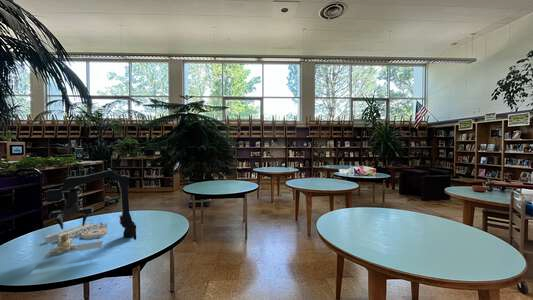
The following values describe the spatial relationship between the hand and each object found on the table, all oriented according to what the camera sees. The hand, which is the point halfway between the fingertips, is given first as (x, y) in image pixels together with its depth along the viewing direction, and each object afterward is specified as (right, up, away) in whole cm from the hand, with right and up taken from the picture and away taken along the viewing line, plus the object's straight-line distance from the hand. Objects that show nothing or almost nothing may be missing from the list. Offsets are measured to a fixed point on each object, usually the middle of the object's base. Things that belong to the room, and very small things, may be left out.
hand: (73, 227), depth 135 cm
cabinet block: (-2, -11, -3) cm, 12 cm away
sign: (-8, -13, +21) cm, 26 cm away
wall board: (+2, -13, -1) cm, 13 cm away
